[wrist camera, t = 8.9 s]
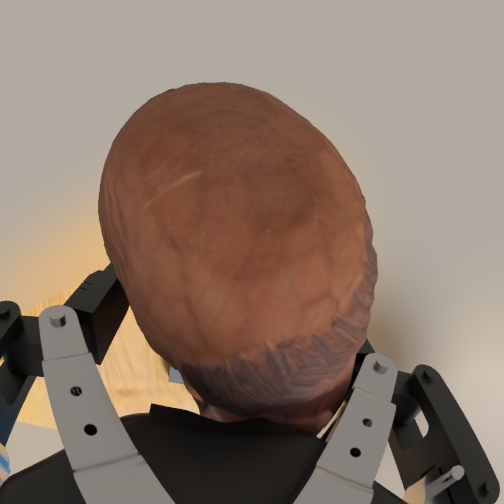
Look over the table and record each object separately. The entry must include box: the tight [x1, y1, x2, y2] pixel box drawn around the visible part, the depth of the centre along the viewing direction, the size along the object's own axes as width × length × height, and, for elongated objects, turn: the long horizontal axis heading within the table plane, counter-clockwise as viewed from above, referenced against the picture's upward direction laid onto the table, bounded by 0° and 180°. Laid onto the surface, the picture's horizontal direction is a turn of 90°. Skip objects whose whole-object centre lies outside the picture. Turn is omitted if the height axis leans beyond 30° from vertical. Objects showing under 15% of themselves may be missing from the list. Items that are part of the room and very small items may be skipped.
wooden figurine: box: [98, 82, 378, 436], centre depth 12 cm, size 12×6×18 cm, turn 27°
